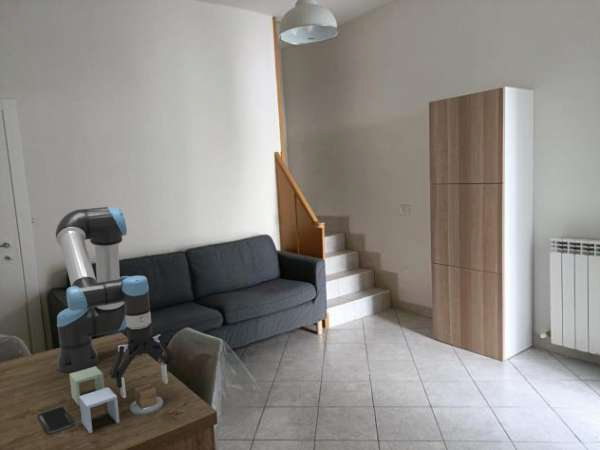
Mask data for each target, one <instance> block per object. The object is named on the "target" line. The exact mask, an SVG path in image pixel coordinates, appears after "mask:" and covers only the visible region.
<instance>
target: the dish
mask: <svg viewBox="0 0 600 450" xmlns="http://www.w3.org/2000/svg"><path fill="white" fill-rule="evenodd" d="M163 406H164V400H163V398H162V397H160V396H157V404H155V405H152V406H149V407H146V408H144V409H141V408H140V407H139V406H138V405H137V404H136V400H134V401H133V402H131V404H130V405H129V409H130V413H131V414H132V415H135V416H136V415H137V416H145V415H151V414H152V413H153V414H154V413H155V412H157V411H159V410H160V409H161V408H162V407H163Z"/></svg>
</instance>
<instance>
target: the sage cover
mask: <svg viewBox="0 0 600 450" xmlns="http://www.w3.org/2000/svg"><path fill="white" fill-rule="evenodd" d="M90 380H94V386H95V391H97V390H101V389H104V388H105V381H104V380H105V379H104V373H103V372H102V371H101V370H100V369H99V368H98V367H97V366H96V365H94V366H91V367H89V368H86V369H83V370H79V371H74V372H70V373H69V382H70V384H69V385H70V391H71V398H72V399H73V400H74V402H75V403H76V405H77V406H79V407H80V401H79V396H81V393H80V384H81V383H84V382H87V381H90Z"/></svg>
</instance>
